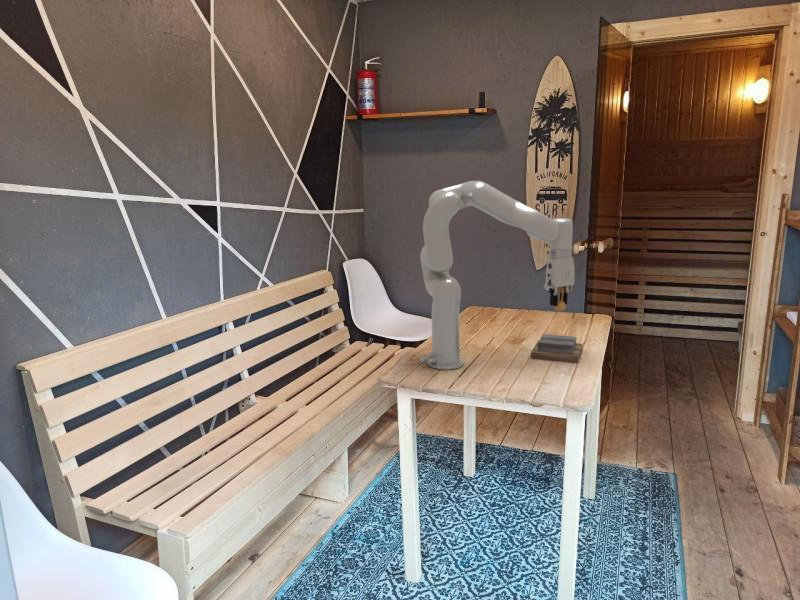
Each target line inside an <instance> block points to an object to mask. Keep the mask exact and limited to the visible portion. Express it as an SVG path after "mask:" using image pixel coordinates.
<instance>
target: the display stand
mask: <svg viewBox="0 0 800 600" xmlns="http://www.w3.org/2000/svg"><path fill="white" fill-rule="evenodd" d="M582 351H583V343H578V342H577V336H572V335H571V336H569V335H559V334H558V335H557V334H547V333H546V334H545V333H542V336H541V337H540V339H538V340H537V341H536V343H535V345H534V347H533V349H531V351H530V359H531V360H542V361H552V362H560V361H561V362H563V363H572V364H578V363H579V360H580V357H581V353H582Z"/></svg>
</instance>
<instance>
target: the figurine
mask: <svg viewBox="0 0 800 600" xmlns="http://www.w3.org/2000/svg"><path fill="white" fill-rule="evenodd" d="M569 286H570V292H573V288H572V287H571V285H569ZM564 287H565V286H564ZM564 287H563V288H562V287H558V289H557V294H556V295H558V305H557V306H553V308H554V310H555V311H557V312H563V311H564V310H565V309H566V305H567V304H566V305H565V303H564V302H563V293H564ZM560 292H561V293H562V295H561V296H562V298H561V300H560Z"/></svg>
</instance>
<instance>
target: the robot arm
mask: <svg viewBox="0 0 800 600" xmlns="http://www.w3.org/2000/svg"><path fill="white" fill-rule="evenodd" d="M468 207H474V208H476V209H478V210H480V211H482V212H483V213H485V214H487V215H489V216H491V217H492V218H493V219H494V218H495V220H498V221H500V222H502V223H504V224H506V225H509V226H512V227H516V228H519V229H521V230H523V231H525V232H526V234H527V236H528V237H530V238H531V239H532V240H535V241H540V242H543V243H544V242H545V243H549V251H548V253H547V254H548V259H547V263H546V270H545V283H544V285H543V289H545V290H546V291H547V293H548V294H549V295H550V296H549V305H550V306H553V307H554V306H557V305H558V295H559V300H561V298H562V296H561V295H562V293H561V291H559V294H558V295H557V289H558V288H559V287H562V288H563V287H564V293H563V302H564V303H565V305H568V296H569V295H568V294H569V293H570V291H571V288H572V287H573V286H574V285H575V283H576V282H575V281H576V280H575V278H576V277H575V271H576V270H575V269H576V268H575V261H574V257H573V256H572V254H573V250H572V249H573V233H574V232H573V230H574V229H573V227H574V224H573V223H574V222H573V220H572V218H567V217H565V218H563V217H557V218H553V219H552V218H550V217H549V216H547V215H545V214H543V213H541V212H540V211H538V210H537V209H533V208H531V207H530V206H528V205H526V204H524V203H522V202H521V201H518V200H517V199H514V198H513V197H511V196H509V195H507V194H505V193H504V192H502V191H500V190H498V188H495V187H493V186H492V185H490V184H488V183H486V182H484V181H482V180H469V181H466V182H463V183H459V184H456V185H452V186H448V187H445V188H442V189H437V190H435V191H434V192H433V193H431V195H430V196H429V198H428V208H427V210H426V211H425V215H424V218H423V221H422V232H423V240H424V241H423V242H424V246H423V247H422V249H421V251H420V256H419V257H420V258H419V259H420V266H421V271H422V276H423V282H424V287H425V290H426V292H427V293H428V294H429V295H430V296H431V297H432V305H431V351H429V354H427V356H422V357H419V360H420V363H423V364H424V363H427V365H428V366H429V367H430V368H433V369H435V370H446V371H447V370H448V371H449V370H455V369H459V368H461V367H463V366H464V365H465V361H464V359H463V358H461V357H460V307H461V306H460V305H461V297H462V289H461V285H460V283H459V282H458V280H456V278H454V277H453V276H451V275H450V269H451V268H452V266H453V263H454V255H453V250H452V243H451V238H450V229H449V228H450V227H449V226H450V222H451V219H452V218H453V217H454V216H455V215H456V214H457V213H458V212H459V210H463V209H465V208H468ZM569 285H571V288H570V286H569Z"/></svg>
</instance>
